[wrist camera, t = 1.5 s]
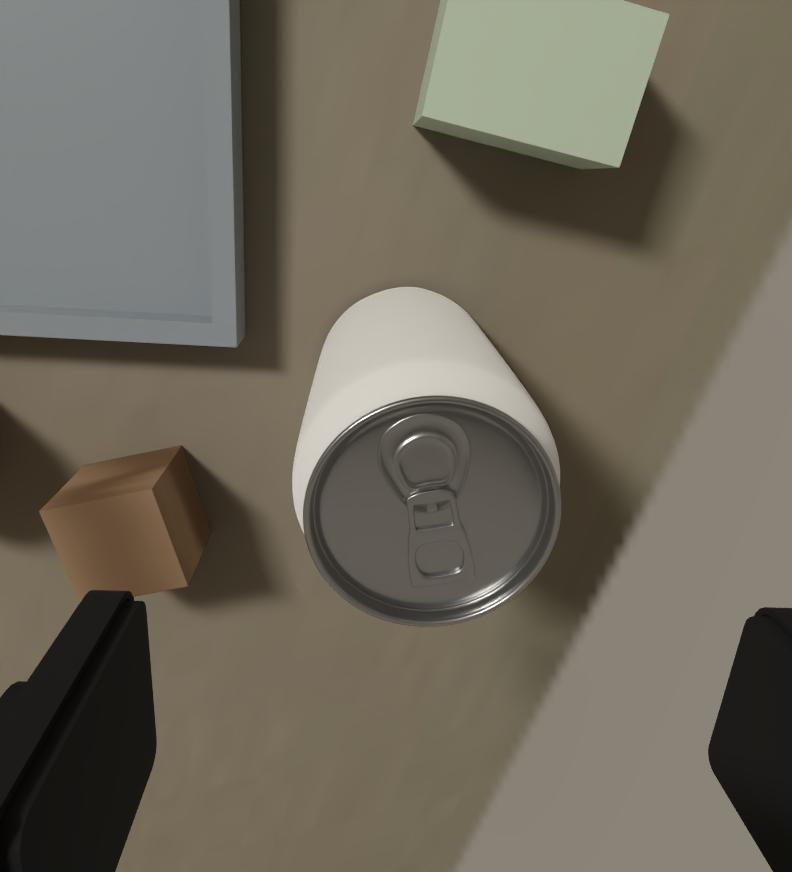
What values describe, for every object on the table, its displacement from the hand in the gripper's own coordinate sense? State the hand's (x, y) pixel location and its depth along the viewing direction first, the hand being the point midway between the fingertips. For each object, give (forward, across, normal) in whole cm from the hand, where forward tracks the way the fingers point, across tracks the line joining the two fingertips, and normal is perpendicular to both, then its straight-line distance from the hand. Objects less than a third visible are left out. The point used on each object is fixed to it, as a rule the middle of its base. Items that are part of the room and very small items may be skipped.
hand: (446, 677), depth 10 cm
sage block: (+16, -3, -11) cm, 20 cm away
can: (+17, 0, -1) cm, 17 cm away
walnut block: (+17, +10, +5) cm, 20 cm away
